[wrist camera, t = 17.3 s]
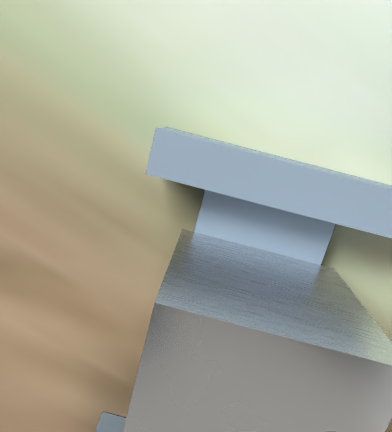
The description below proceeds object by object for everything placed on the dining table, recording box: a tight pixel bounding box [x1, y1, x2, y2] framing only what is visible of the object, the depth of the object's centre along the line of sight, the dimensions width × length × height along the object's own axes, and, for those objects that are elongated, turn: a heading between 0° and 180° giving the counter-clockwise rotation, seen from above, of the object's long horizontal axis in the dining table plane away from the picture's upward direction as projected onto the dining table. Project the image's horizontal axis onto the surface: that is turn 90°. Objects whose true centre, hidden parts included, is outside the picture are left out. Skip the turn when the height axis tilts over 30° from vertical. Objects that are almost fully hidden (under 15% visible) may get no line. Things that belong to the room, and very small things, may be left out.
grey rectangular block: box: [123, 229, 392, 432], centre depth 12 cm, size 6×9×6 cm, turn 166°
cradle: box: [95, 127, 392, 432], centre depth 15 cm, size 9×15×2 cm, turn 166°
